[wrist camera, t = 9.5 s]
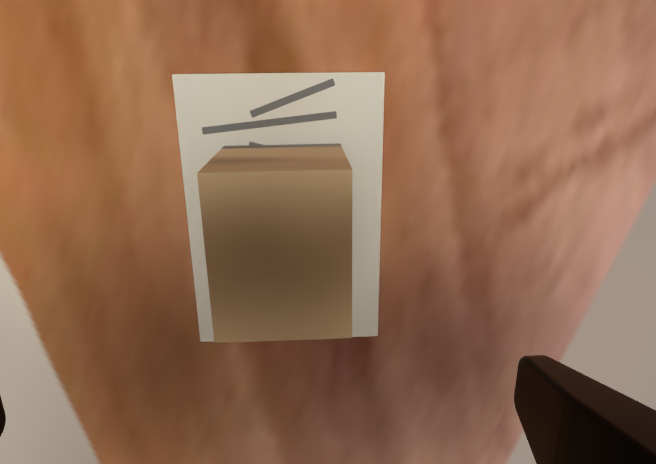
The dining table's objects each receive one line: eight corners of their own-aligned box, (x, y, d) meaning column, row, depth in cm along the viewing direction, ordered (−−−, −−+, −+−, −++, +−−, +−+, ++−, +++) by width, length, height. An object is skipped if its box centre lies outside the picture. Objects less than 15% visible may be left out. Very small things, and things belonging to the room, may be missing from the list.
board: (374, 323, 20) (377, 336, 19) (205, 329, 20) (200, 342, 19) (380, 71, 17) (384, 72, 16) (179, 73, 17) (172, 74, 16)
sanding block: (340, 275, 19) (351, 338, 14) (235, 278, 18) (214, 343, 14) (340, 143, 17) (352, 169, 13) (224, 145, 17) (196, 173, 13)
